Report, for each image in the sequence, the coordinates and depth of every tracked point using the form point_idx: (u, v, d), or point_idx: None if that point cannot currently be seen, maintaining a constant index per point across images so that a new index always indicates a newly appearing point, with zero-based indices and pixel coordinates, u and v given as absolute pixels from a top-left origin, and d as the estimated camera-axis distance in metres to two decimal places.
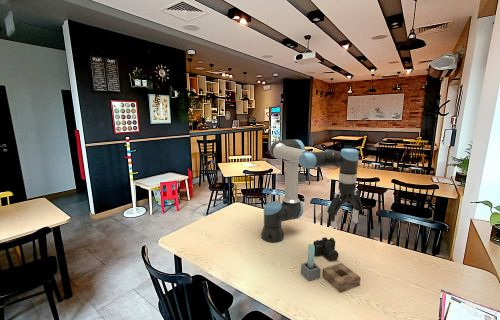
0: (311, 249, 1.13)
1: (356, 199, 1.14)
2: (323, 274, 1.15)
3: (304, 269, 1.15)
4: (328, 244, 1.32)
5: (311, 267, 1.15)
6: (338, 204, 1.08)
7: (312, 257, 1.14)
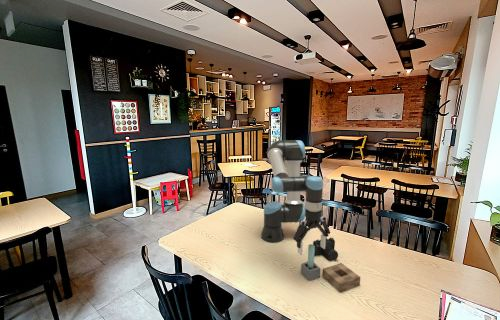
0: (311, 249, 1.13)
1: (323, 225, 1.15)
2: (323, 274, 1.15)
3: (304, 269, 1.15)
4: (328, 244, 1.33)
5: (311, 267, 1.15)
6: (304, 231, 1.10)
7: (312, 257, 1.14)
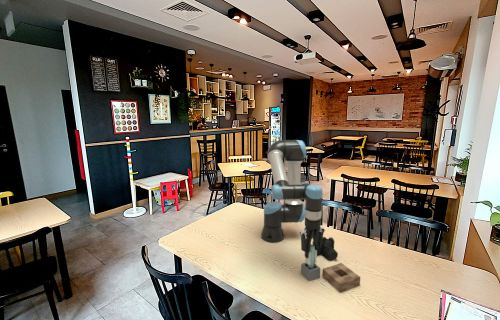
0: (311, 249, 1.13)
1: (318, 237, 1.15)
2: (323, 274, 1.15)
3: (304, 269, 1.15)
4: (327, 244, 1.33)
5: (311, 267, 1.15)
6: (308, 241, 1.12)
7: (312, 257, 1.14)
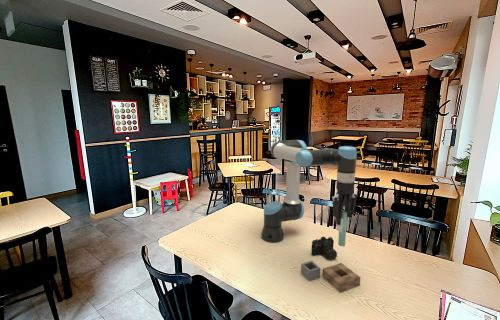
0: (343, 215, 1.06)
1: (351, 203, 1.08)
2: (323, 274, 1.15)
3: (304, 269, 1.15)
4: (327, 243, 1.33)
5: (343, 235, 1.07)
6: (340, 207, 1.05)
7: (344, 224, 1.06)
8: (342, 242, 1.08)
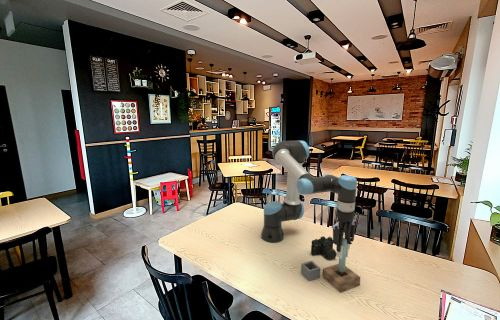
0: (343, 243, 1.08)
1: (350, 230, 1.10)
2: (323, 274, 1.15)
3: (304, 269, 1.15)
4: (326, 243, 1.33)
5: (343, 261, 1.10)
6: (340, 234, 1.07)
7: (344, 251, 1.09)
8: (342, 269, 1.10)
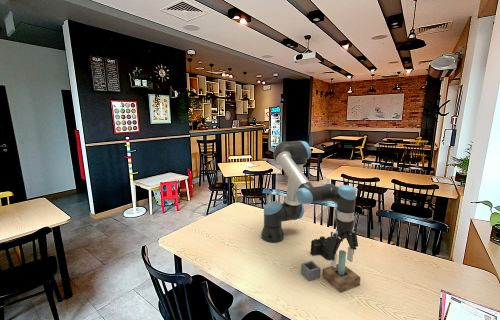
0: (342, 255, 1.09)
1: (352, 237, 1.12)
2: (323, 274, 1.15)
3: (304, 269, 1.15)
4: (326, 243, 1.34)
5: (342, 274, 1.11)
6: (337, 243, 1.07)
7: (343, 263, 1.10)
8: None
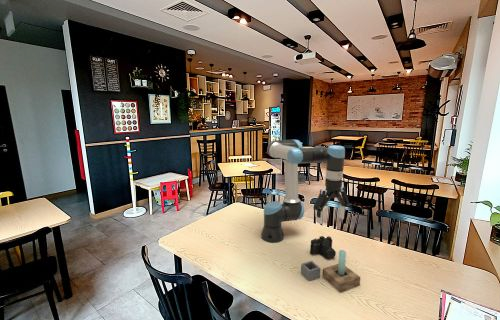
0: (342, 255, 1.09)
1: (343, 195, 1.15)
2: (323, 274, 1.15)
3: (304, 269, 1.15)
4: (325, 243, 1.34)
5: (342, 274, 1.11)
6: (324, 200, 1.09)
7: (343, 263, 1.10)
8: None
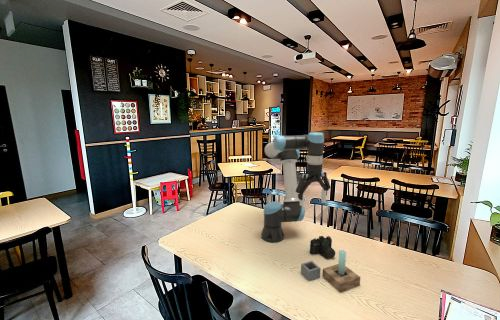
0: (342, 255, 1.09)
1: (324, 180, 1.21)
2: (323, 274, 1.15)
3: (304, 269, 1.15)
4: (325, 242, 1.34)
5: (342, 274, 1.11)
6: (306, 184, 1.16)
7: (343, 263, 1.10)
8: None
